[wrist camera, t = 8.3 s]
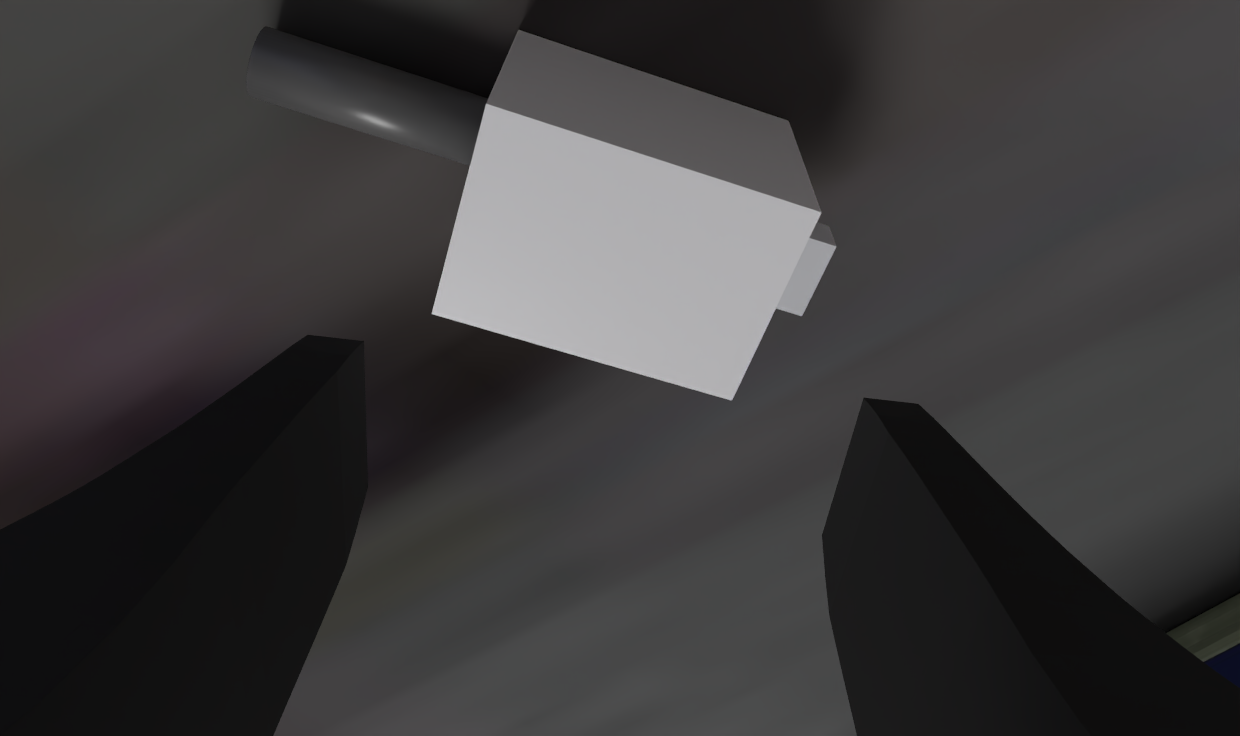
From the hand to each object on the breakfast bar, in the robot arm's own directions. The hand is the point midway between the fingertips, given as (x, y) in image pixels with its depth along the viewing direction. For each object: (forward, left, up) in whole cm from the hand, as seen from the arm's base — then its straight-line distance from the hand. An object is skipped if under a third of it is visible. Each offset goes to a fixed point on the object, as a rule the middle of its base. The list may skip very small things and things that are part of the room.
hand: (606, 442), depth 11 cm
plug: (-2, 0, -8) cm, 9 cm away
